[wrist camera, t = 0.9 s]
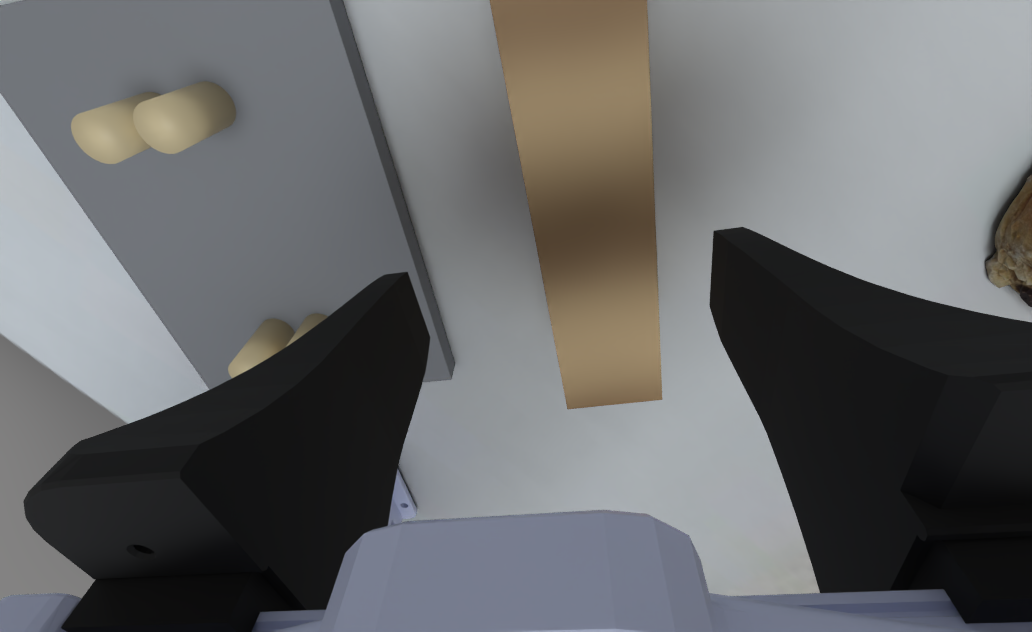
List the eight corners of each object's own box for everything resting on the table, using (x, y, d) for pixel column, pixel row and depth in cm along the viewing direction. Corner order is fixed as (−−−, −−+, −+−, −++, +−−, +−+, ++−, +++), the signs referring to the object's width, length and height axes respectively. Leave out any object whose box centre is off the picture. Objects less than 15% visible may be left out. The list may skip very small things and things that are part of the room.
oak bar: (638, 309, 24) (662, 399, 19) (563, 319, 24) (567, 409, 19) (614, -47, 16) (645, -51, 11) (504, -21, 16) (486, -14, 12)
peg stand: (454, 363, 26) (441, 424, 23) (229, 385, 28) (184, 445, 24) (323, -63, 16) (261, -70, 12) (-20, 14, 18) (-156, 27, 14)
